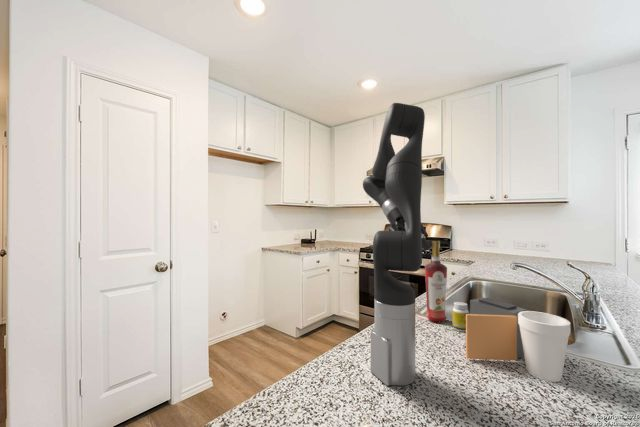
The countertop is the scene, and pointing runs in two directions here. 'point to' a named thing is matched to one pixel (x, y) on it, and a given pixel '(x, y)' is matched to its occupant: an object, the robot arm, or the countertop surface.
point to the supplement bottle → (460, 316)
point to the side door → (491, 337)
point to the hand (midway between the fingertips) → (421, 249)
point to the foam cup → (544, 343)
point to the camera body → (498, 308)
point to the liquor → (436, 286)
